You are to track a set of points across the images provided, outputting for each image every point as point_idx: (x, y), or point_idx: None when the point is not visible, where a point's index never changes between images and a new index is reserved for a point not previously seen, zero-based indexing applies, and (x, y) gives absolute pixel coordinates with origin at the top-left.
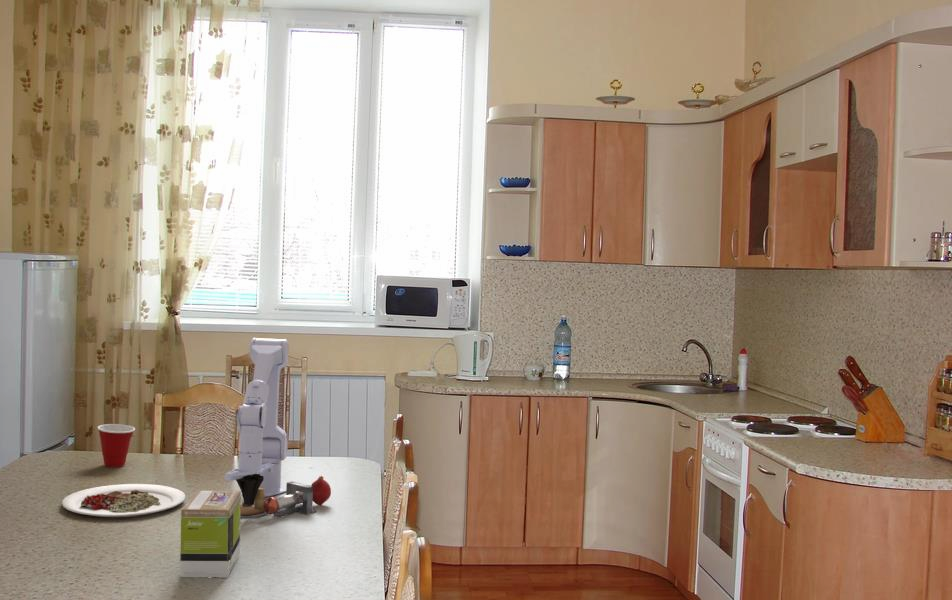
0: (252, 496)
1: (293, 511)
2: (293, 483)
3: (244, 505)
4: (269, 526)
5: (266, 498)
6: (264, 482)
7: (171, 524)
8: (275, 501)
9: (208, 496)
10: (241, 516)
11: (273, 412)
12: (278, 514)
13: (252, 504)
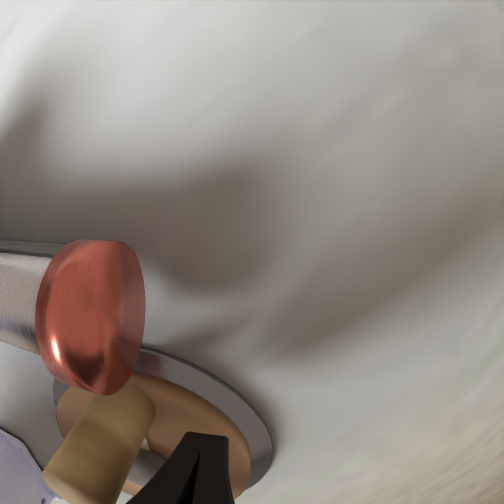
0: (201, 484)
1: (4, 242)
2: None
3: None
4: (283, 151)
5: (95, 389)
6: (6, 478)
7: (457, 473)
8: (62, 280)
9: None
10: (251, 417)
11: None
12: None
13: (198, 433)
